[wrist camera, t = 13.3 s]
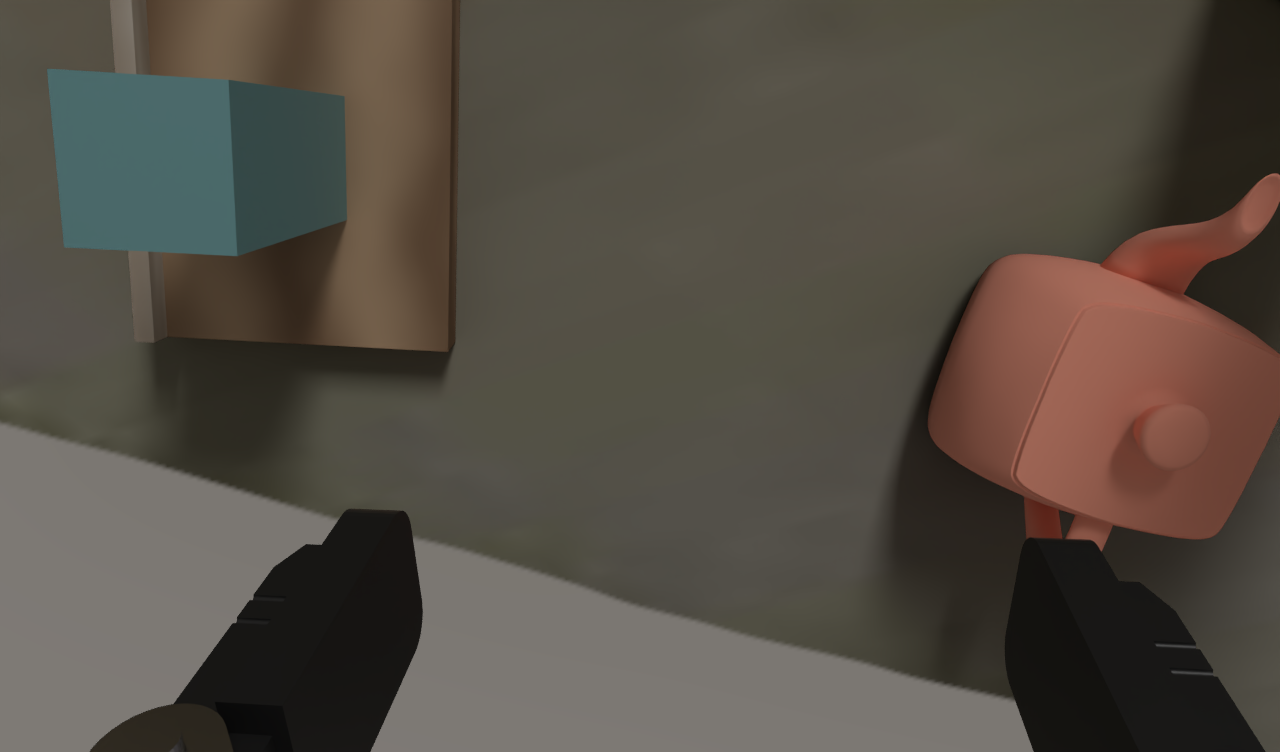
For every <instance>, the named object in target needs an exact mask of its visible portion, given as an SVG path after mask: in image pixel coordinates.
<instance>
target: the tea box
mask: <svg viewBox="0 0 1280 752" xmlns="http://www.w3.org/2000/svg"><path fill="white" fill-rule="evenodd" d="M47 73H48V83H49V94H50V104H51V115H52V125H53V135H54V146H55V156H56V167H57V177H58V187H59V198H60V208H61V219H62V229H63V240H64V247H70V248H89V249H109V250H128V251H147V252H166V253H186V254H205V255H224V256H239V255H242V254H245V253H248V252H251V251H255V250H258V249H261V248H264V247H267V246H270V245H273V244H276V243H279V242H282V241H285V240H288V239H291V238H294V237H297V236H300V235H303V234H306V233H309V232H312V231H315V230H318V229H321V228H324V227H327V226H330V225H333V224H336V223H339V222H343V221H346V220H347V192H346V144H345V96H340V95H333V94H326V93H319V92H312V91H305V90H298V89H290V88H283V87H276V86H269V85H262V84H255V83H248V82H241V81H234V80H224V79H208V78H191V77H175V76H158V75H141V74H125V73H108V72H92V71H75V70H58V69H47Z"/></svg>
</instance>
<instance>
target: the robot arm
mask: <svg viewBox="0 0 1280 752" xmlns="http://www.w3.org/2000/svg"><path fill="white" fill-rule="evenodd" d="M1279 1H1280V0H1279ZM422 614H423V609H422V598H421V592H420V585H419V577H418V571H417V564H416V557H415V551H414V543H413V537H412V530H411V524H410V520H409V517H408V515H407V514H406V512H404V511H394V510H369V509H348V510H346V511H345V512H344V513H343V514H342V516H341V517H340V519H339V520H338V522H337V523H336V525H335V526H334V528H333V529H332V530H331V532H330V533H329V535H328V536H327V538H326V539H325V541H324V542H323V544H322V545H310V544H306V545H305V546H303V547H302V548H300V549H299V550H297V551H296V552H295V553H293V554H292V555H290V556H289V557H288V558H286V559H285V560H283V561H282V562H281V563H279V564H278V565H276V566H275V567H274V568H273V569H272V570H271V572H270V573H269V574H268V576H267V577H266V579H265V580H264V581H263V583H262V584H261V585H260V587H259V588H258V590H257V591H256V592H255V594H254V598H253V600H250V601H249V602H248V603H247V604H246V606H245V607H244V609H243V610H242V612H241V613H240V614H239V615H238V617H237V622H236V623H233V624H232V625H231V626H230V628H229V629H228V630H227V632H226V633H225V634H224V636H223V637H222V639H221V640H220V641H219V643H218V644H217V645H216V647H215V648H214V649H213V651H212V652H211V654H210V655H209V656H208V658H207V659H206V661H205V662H204V663H203V665H202V666H201V667H200V668H199V670H198V671H197V673H196V674H195V675H194V677H193V678H192V680H191V681H190V682H189V684H188V685H187V686H186V688H185V689H184V690H183V692H182V693H181V695H180V696H179V697H178V698H177V700H176V701H175V703H174V704H171V705H166V706H162V707H157V708H154V709H151V710H148V711H146V712H143V713H141V714H138V715H136V716H134V717H132V718H130V719H128V720H126V721H124V722H123V723H121V724H120V725H118V726H117V727H115V728H114V729H112V730H111V731H110V732H108V733H107V734H106V735H105V736H104V737H102V738H101V739H100V740H99V741H98V742H97V743H96V744H95V745H94V746H93V748H92V749H91V750H90V752H370V751H371V749H372V747H373V745H374V743H375V740H376V738H377V736H378V734H379V731H380V729H381V727H382V725H383V723H384V720H385V718H386V716H387V713H388V711H389V709H390V707H391V705H392V703H393V700H394V698H395V696H396V694H397V691H398V689H399V687H400V685H401V683H402V680H403V678H404V676H405V674H406V671H407V669H408V667H409V665H410V662H411V660H412V658H413V656H414V654H415V651H416V649H417V646H418V642H419V638H420V634H421V627H422ZM1005 662H1006V670H1007V676H1008V680H1009V684H1010V687H1011V690H1012V693H1013V695H1014V698H1015V701H1016V704H1017V706H1018V709H1019V712H1020V715H1021V717H1022V720H1023V723H1024V726H1025V729H1026V731H1027V734H1028V737H1029V740H1030V743H1031V745H1032V748H1033V751H1034V752H1265V750H1264V749H1263V747H1262V746H1261V744H1260V742H1259V741H1258V739H1257V738H1256V736H1255V735H1254V733H1253V731H1252V730H1251V728H1250V727H1249V725H1248V724H1247V722H1246V721H1245V719H1244V717H1243V716H1242V714H1241V713H1240V711H1239V710H1238V708H1237V707H1236V705H1235V703H1234V702H1233V700H1232V699H1231V697H1230V696H1229V694H1228V692H1227V691H1226V689H1225V688H1224V686H1223V685H1222V683H1221V682H1220V680H1219V678H1218V677H1214V676H1213V669H1212V668H1211V666H1210V664H1209V663H1208V661H1207V660H1206V658H1205V657H1204V655H1203V654H1202V652H1201V650H1199V649H1196V643H1195V641H1194V639H1193V638H1192V636H1191V635H1190V633H1189V632H1188V630H1187V629H1186V627H1185V625H1184V624H1183V622H1182V621H1181V619H1180V618H1179V616H1178V615H1177V613H1176V611H1175V610H1173V609H1172V608H1171V607H1170V606H1168V605H1167V604H1166V603H1165V602H1163V601H1162V600H1161V599H1160V598H1158V597H1157V596H1156V595H1155V594H1154V593H1152V592H1151V591H1150V590H1149V589H1147V588H1146V587H1145V586H1144V585H1142V584H1141V583H1140V582H1122V581H1118V579H1117V578H1116V576H1115V574H1114V573H1113V571H1112V569H1111V567H1110V566H1109V564H1108V562H1107V561H1106V559H1105V557H1104V555H1103V554H1102V552H1101V550H1100V549H1099V547H1098V546H1097V544H1096V543H1095V542H1094V541H1092V540H1086V539H1061V538H1036V537H1029V538H1028V539H1027V540H1026V541H1025V543H1024V545H1023V547H1022V551H1021V556H1020V561H1019V566H1018V571H1017V577H1016V582H1015V587H1014V593H1013V598H1012V603H1011V608H1010V614H1009V619H1008V624H1007V630H1006V636H1005Z"/></svg>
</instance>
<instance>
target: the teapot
mask: <svg viewBox="0 0 1280 752" xmlns="http://www.w3.org/2000/svg"><path fill="white" fill-rule="evenodd" d="M1279 202H1280V175H1279V174H1270V175H1268V176H1266V177H1264V178H1263V179H1262V180H1260V181H1259V182H1258V183H1257V184H1256V185H1255V186H1254V187H1253V188H1252V189H1251V190H1250V191H1249V192H1248V193H1247V194H1246V195H1245V196H1244V197H1243V198H1242V199H1241V200H1240V201H1239V202H1238V203H1237V204H1236V205H1235V206H1234V207H1233V208H1232V209H1230V210H1229V211H1227V212H1226V213H1224V214H1223V215H1221V216H1219V217H1216V218H1214V219H1212V220H1209V221H1204V222H1200V223H1194V224H1185V225H1176V226H1168V227H1162V228H1156V229H1152V230H1148V231H1145V232H1142V233H1140V234H1138V235H1136V236H1134V237H1132V238H1130V239H1128V240H1127V241H1125V242H1124V243H1123V244H1121V245H1120V246H1119V247H1118V248H1117V249H1115V250H1114V251H1113V252H1112V253H1111V254H1110V255H1109V256H1108V257H1107V258H1106V260H1105V261H1104V262H1103V263H1102V264H1097V263H1093V262H1088V261H1083V260H1077V259H1071V258H1065V257H1057V256H1049V255H1036V254H1015V255H1008V256H1005V257H1002V258H1000V259H998V260H996V261H994V262H993V263H992V264H990V265H989V266H988V267H987V269H986V270H985V271H984V273H983V274H982V276H981V278H980V280H979V282H978V284H977V286H976V288H975V290H974V292H973V294H972V296H971V298H970V300H969V303H968V305H967V307H966V309H965V312H964V314H963V316H962V318H961V321H960V323H959V325H958V328H957V330H956V333H955V335H954V337H953V340H952V342H951V345H950V348H949V350H948V353H947V356H946V358H945V361H944V364H943V367H942V370H941V372H940V375H939V378H938V381H937V384H936V387H935V390H934V393H933V397H932V400H931V404H930V407H929V414H928V429H929V433H930V436H931V438H932V439H933V441H934V443H935V444H936V445H937V446H938V447H939V448H940V449H941V450H942V451H943V452H945V453H946V454H947V455H948V456H950V457H951V458H952V459H954V460H955V461H957V462H958V463H959V464H961V465H963V466H964V467H966V468H967V469H969V470H971V471H973V472H975V473H976V474H978V475H980V476H982V477H984V478H986V479H988V480H990V481H992V482H994V483H996V484H998V485H1000V486H1002V487H1004V488H1007V489H1009V490H1011V491H1013V492H1015V493H1018V494H1020V495H1022V496H1024V507H1025V526H1026V540H1027V539H1028V538H1029V537H1036V538H1061V539H1062V532H1061V525H1060V517H1059V510H1062V511H1065V512H1068V513H1071V514H1074V515H1075V517H1074V520H1073V522H1072V524H1071V527H1070V529H1069V531H1068V534H1067V536H1066V538H1065V539H1086V540H1092V541H1094V542H1095V543H1096V544H1097V546H1098V547H1099V549H1100V550H1101V552H1102V550H1103V548H1104V545H1105V543H1106V541H1107V539H1108V536H1109V534H1110V531H1111V529H1112V527H1113V525H1115V526H1119V527H1124V528H1128V529H1133V530H1137V531H1142V532H1147V533H1152V534H1157V535H1162V536H1169V537H1175V538H1183V539H1206V538H1211V537H1213V536H1215V535H1216V534H1217V533H1218V532H1219V531H1220V530H1221V528H1222V527H1223V525H1224V524H1225V522H1226V521H1227V519H1228V517H1229V516H1230V514H1231V512H1232V510H1233V509H1234V507H1235V505H1236V503H1237V501H1238V499H1239V498H1240V496H1241V494H1242V492H1243V490H1244V488H1245V486H1246V484H1247V482H1248V480H1249V478H1250V476H1251V474H1252V472H1253V470H1254V468H1255V466H1256V464H1257V462H1258V460H1259V458H1260V456H1261V454H1262V452H1263V450H1264V448H1265V446H1266V444H1267V442H1268V440H1269V438H1270V435H1271V433H1272V431H1273V429H1274V427H1275V425H1276V423H1277V421H1278V418H1279V416H1280V354H1279V353H1277V352H1276V351H1275V350H1274V349H1272V348H1271V347H1270V346H1269V345H1267V344H1266V343H1265V342H1263V341H1262V340H1261V339H1260V338H1258V337H1257V336H1256V335H1254V334H1253V333H1252V332H1250V331H1249V330H1247V329H1246V328H1244V327H1243V326H1241V325H1239V324H1238V323H1236V322H1234V321H1233V320H1231V319H1229V318H1227V317H1226V316H1224V315H1222V314H1221V313H1219V312H1217V311H1215V310H1213V309H1211V308H1209V307H1207V306H1205V305H1203V304H1202V303H1200V302H1198V301H1196V300H1194V299H1192V298H1190V297H1188V296H1186V295H1184V292H1185V290H1186V289H1187V287H1188V285H1189V283H1190V282H1191V281H1192V279H1193V278H1194V277H1195V275H1196V274H1197V273H1198V272H1199V271H1200V270H1201V269H1202V268H1203V266H1205V265H1206V264H1207V263H1209V262H1211V261H1213V260H1216V259H1219V258H1222V257H1226V256H1228V255H1231V254H1233V253H1235V252H1237V251H1239V250H1240V249H1242V248H1243V247H1245V246H1246V245H1248V244H1249V243H1250V242H1251V241H1252V240H1253V239H1255V238H1256V237H1257V236H1258V235H1259V234H1260V233H1261V232H1262V231H1263V229H1264V228H1265V227H1266V225H1267V224H1268V223H1269V221H1270V220H1271V218H1272V216H1273V215H1274V213H1275V211H1276V209H1277V207H1278V204H1279Z"/></svg>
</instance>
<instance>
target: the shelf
mask: <svg viewBox="0 0 1280 752" xmlns="http://www.w3.org/2000/svg"><path fill="white" fill-rule="evenodd" d="M110 7H111V21H112V35H113V48H114V62H115V73H125V74H141V75H158V76H175V77H191V78H208V79H224V80H234V81H241V82H248V83H255V84H262V85H269V86H276V87H283V88H290V89H298V90H305V91H312V92H319V93H326V94H333V95H340V96H345V144H346V192H347V220H346V221H343V222H339V223H336V224H333V225H330V226H327V227H324V228H321V229H318V230H315V231H312V232H309V233H306V234H303V235H300V236H297V237H294V238H291V239H288V240H285V241H282V242H279V243H276V244H273V245H270V246H267V247H264V248H261V249H258V250H255V251H251V252H248V253H245V254H242V255H239V256H224V255H205V254H186V253H166V252H147V251H128V254H129V268H130V282H131V296H132V309H133V323H134V337H135V342H149V343H155V342H157V341H159V340H162V339H164V338H166V337H181V338H200V339H218V340H237V341H256V342H274V343H293V344H311V345H330V346H348V347H367V348H386V349H404V350H423V351H441V352H448V351H449V350H450V348H451V347H452V346H453V344H454V343H455V321H456V251H457V180H458V110H459V40H460V0H110Z"/></svg>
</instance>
